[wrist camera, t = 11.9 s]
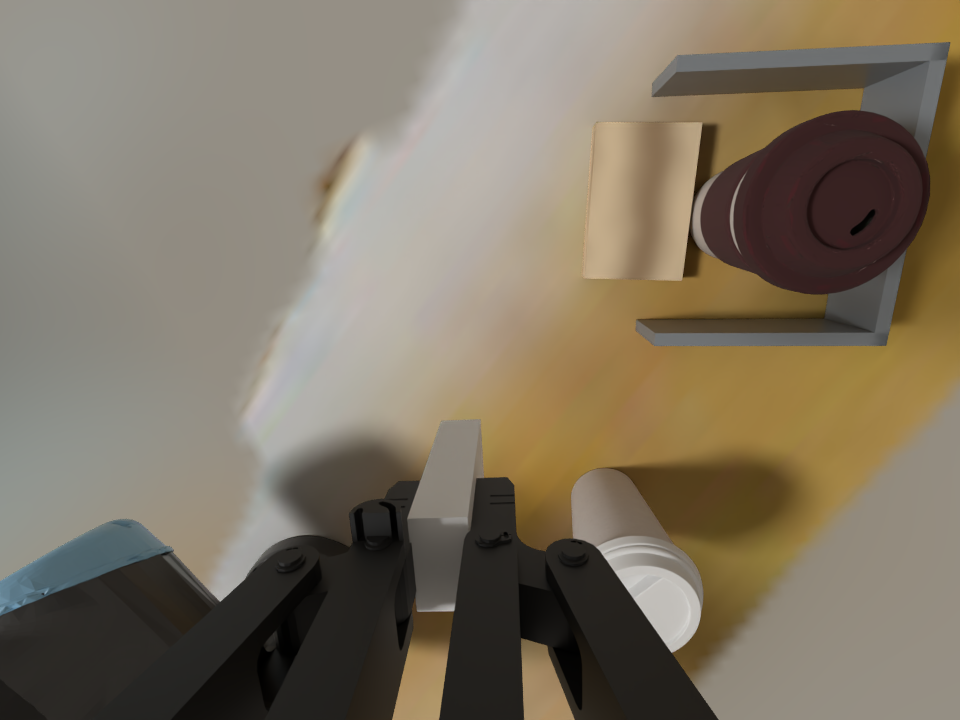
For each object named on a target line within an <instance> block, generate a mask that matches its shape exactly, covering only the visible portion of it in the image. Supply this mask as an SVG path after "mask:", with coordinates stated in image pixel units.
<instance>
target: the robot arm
mask: <svg viewBox="0 0 960 720" xmlns="http://www.w3.org/2000/svg"><path fill="white" fill-rule="evenodd" d="M349 518H350V525H351V532H352V539H353V543H352V545H351V547H350V549H349V548H348V547H346V546H344V545H342V544H340V543H338V542H335V541H332V540H329V539H325V538H320V537H312V536H301V537H294V538H289V539H286V540H283V541H280V542H278V543H276V544H275V545H273V546H271V547H270V548H269V549H268V550H266V551H265V552H264V553H263V554H262V556H261V557H260V558H259V559H258V561H257V562H256V563H255V564H254V566H253V567H252V568H251V570H250V571H249V573H248V575H247V577H246V578H245V580H244V581H243V582H242V583H241V584H240V585H238V586H237V587H236V588H235V589H234V590H233V591H232V592H231V593H230V594H229V595H228V596H226V597H225V598H224V599H223V600H222V601H221V602H220V601H219V600H218V599H217V598H216V597H215V596H214V595H213V594H212V593H211V592H210V591H209V590H208V589H207V588H206V587H205V586H204V585H203V584H202V583H201V582H200V581H199V580H198V579H197V578H196V576H195V575H194V574H193V573H192V572H191V571H190V570H189V569H188V568H187V567H186V566H185V565H184V564H183V563H182V562H181V560H180V559H179V558H178V557H177V556H176V555H175V554H174V553H173V551H174V550H173V549H172V547H170V546H165V545H164V544H163V543H162V542H161V541H160V540H159V539H157V538H156V537H155V536H154V535H153V534H152V533H151V532H150V531H149V530H148V529H146V528H145V527H144V526H143V525H142V524H141V523H139V522H137V521H134V520H130V519H118V520H113V521H110V522H107V523H105V524H102V525H100V526H98V527H96V528H94V529H92V530H90V531H88V532H86V533H84V534H82V535H80V536H78V537H77V538H75V539H73V540H71V541H69V542H67V543H65V544H64V545H62V546H60V547H58V548H56V549H55V550H53V551H51V552H49V553H47V554H46V555H44V556H42V557H40V558H39V559H37V560H35V561H33V562H32V563H30V564H28V565H26V566H25V567H23V568H21V569H20V570H18V571H16V572H14V573H13V574H11V575H9V576H8V577H6V578H5V579H3V580H1V581H0V720H392V717H393V713H394V709H395V704H396V700H397V696H398V691H399V687H400V683H401V678H402V674H403V670H404V665H405V661H406V657H407V652H408V648H409V644H410V639H411V635H412V631H413V615H412V607H413V603H414V599H415V598H416V607H417V612H430V611H454V616H453V623H452V631H451V638H450V645H449V652H448V660H447V667H446V674H445V682H444V689H443V696H442V703H441V711H440V718H439V720H524V708H523V683H522V658H521V638H523V639H527V640H530V641H534V642H537V643H541V644H544V645H547V646H548V652H549V656H550V658H551V661H552V663H553V666H554V668H555V671H556V673H557V676H558V678H559V681H560V683H561V686H562V688H563V691H564V693H565V696H566V699H567V701H568V704H569V706H570V709H571V711H572V714H573V716H574V719H575V720H718V718H717V717H716V715H715V714H714V713H713V711H712V710H711V708H710V707H709V706H708V704H707V703H706V701H705V700H704V698H703V697H702V696H701V694H700V693H699V691H698V690H697V688H696V687H695V686H694V684H693V683H692V681H691V680H690V678H689V677H688V676H687V674H686V673H685V671H684V670H683V668H682V667H681V666H680V664H679V663H678V661H677V660H676V659H675V657H674V656H673V654H672V653H671V651H670V650H669V649H668V647H667V646H666V644H665V643H664V641H663V640H662V639H661V637H660V636H659V634H658V633H657V631H656V630H655V629H654V627H653V626H652V624H651V623H650V621H649V620H648V619H647V617H646V616H645V614H644V613H643V612H642V610H641V609H640V607H639V606H638V604H637V603H636V602H635V600H634V599H633V597H632V596H631V594H630V593H629V592H628V590H627V589H626V587H625V586H624V584H623V583H622V582H621V580H620V579H619V577H618V576H617V574H616V573H615V572H614V570H613V569H612V567H611V566H610V565H609V563H608V562H607V560H606V559H605V557H604V556H603V555H602V553H601V552H600V550H598V549H597V548H596V547H595V546H594V545H593V544H591V543H589V542H586V541H584V540H579V539H574V538H573V539H562V540H558V541H555V542H553V543H552V544H551V545H550V546H548V548H547V550H546V552H545V551H540V550H537V549H533V548H531V547H529V546H527V545H525V544H524V543H523V542H521V541H520V539H519V538H518V537H517V533H516V516H515V493H514V484H513V483H512V482H511V481H510V480H509V479H508V478H507V477H500V478H484V471H483V454H482V437H481V420H480V419H476V420H447V421H441V423H440V426H439V429H438V432H437V435H436V438H435V440H434V443H433V446H432V449H431V452H430V455H429V458H428V460H427V463H426V466H425V469H424V472H423V475H422V478H421V480H420V481H399V482H398V483H396V484H395V485H394V486H393V487H391V488H390V489H389V490H388V492H387V495H386V497H385V499H376V500H370V501H367V502H364V503H361V504H360V505H358V506H356V507H355V508H353V509H352V511H351V512H350V513H349Z"/></svg>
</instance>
